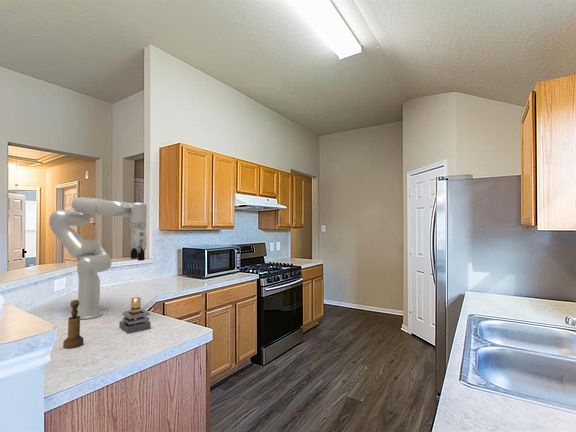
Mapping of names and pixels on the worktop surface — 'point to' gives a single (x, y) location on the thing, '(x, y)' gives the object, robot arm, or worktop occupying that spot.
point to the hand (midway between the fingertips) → (137, 259)
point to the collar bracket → (135, 322)
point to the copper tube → (135, 306)
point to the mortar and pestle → (73, 328)
